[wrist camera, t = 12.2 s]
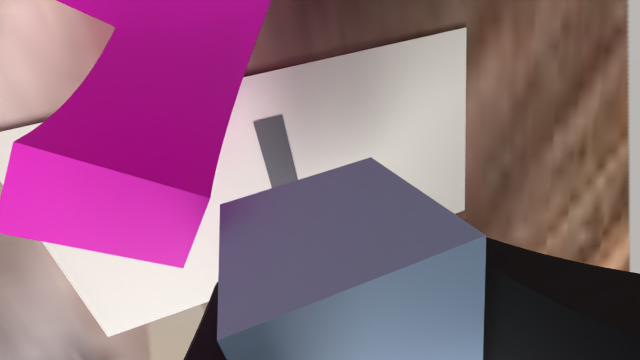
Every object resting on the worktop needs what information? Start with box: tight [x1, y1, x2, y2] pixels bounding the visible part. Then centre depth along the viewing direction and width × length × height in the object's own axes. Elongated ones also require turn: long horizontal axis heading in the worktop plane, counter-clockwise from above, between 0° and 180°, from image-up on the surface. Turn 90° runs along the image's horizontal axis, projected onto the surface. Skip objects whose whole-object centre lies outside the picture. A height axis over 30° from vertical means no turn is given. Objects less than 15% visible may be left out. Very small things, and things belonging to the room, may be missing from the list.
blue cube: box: [217, 157, 486, 360], centre depth 9 cm, size 5×5×5 cm
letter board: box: [0, 28, 466, 337], centre depth 16 cm, size 11×22×1 cm, turn 101°
